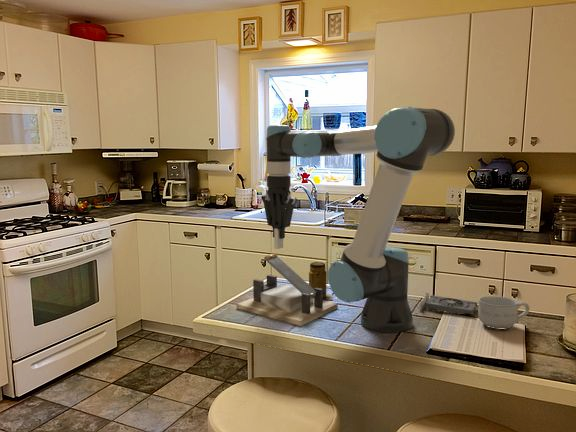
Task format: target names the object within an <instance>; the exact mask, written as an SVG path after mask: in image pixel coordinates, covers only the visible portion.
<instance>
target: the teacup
mask: <svg viewBox="0 0 576 432" xmlns="http://www.w3.org/2000/svg"><path fill="white" fill-rule="evenodd" d="M477 300H478V304H477V309H478V310H477V311H478V318H479V319H478V320H479V321H480V322H481V323H482V324H483V325H484V324H485V325H487V326H490V327H494V328H509V327H510V328H511V327H513V326H514V325H515V324H516V322H518V321H519V320H520V319H522V318H523V317H525V316H527V315H528V314H529V313H530V306H529V305H530V304H528V303H527V302H524V301H519V302H518V301H517V300H516V299H513V298H510V297H505V296H499V295H498V296H497V295H489V296H488V295H487V296H480V297H478V299H477ZM523 306H524V307H525V310H524V311H523V312H522V313H520V314H518V311H519V308H521V307H523ZM485 325H484V326H485ZM510 328H509V329H510Z"/></svg>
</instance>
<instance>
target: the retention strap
mask: <svg viewBox="0 0 576 432" xmlns="http://www.w3.org/2000/svg"><path fill="white" fill-rule="evenodd" d="M263 260H265V261H266V262H267V263H268V264H269V265H271V267H272V268H273V269H275V270H276V271H277V272H278V273H279V274H280V275H281V276H282V277H283V278H284V279H285V280H286V281H288V282H289V283H290V285H291V286H294V287H295V288H296V289H297V290H299V291H300V292H301V293H307V294H310V299H311V298H313V297H316V296H318V295H319V293H318V292H317V291H315V290H314V289H313V288H312V287H311V286H310V285H309V283H308V282H307V281H305V280H304V279H303V278H302V277H301V276H300V275H299V274H297V272H295V271H294V270H293V269H292V268H291V267H290V266H289V265H288V264H286V263H285V262H284V261H283V260H282V259H281V258H280V257H279V256H278V253H272V254H269V255H266V256H264V257H263Z"/></svg>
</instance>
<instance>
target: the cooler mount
mask: <svg viewBox="0 0 576 432" xmlns="http://www.w3.org/2000/svg"><path fill="white" fill-rule="evenodd" d="M252 282H253V283H252V285H253V288H252V289H253V293H252V294H253V297H252V298H249V299H245V300H244V301H241V302H238V303H236V310H237V309H238V310H241V311H245V312H248V313H252V314H256V315H260V316H263V317H267V318H271V319H274V320H278V321H280V322H285V323H289V324H292V325H294V326H295V325H296V326H299V327H302V326H304V325H306V324H309V323H310V322H312V321H314V320H316V319H318V318H320V317H323V316H324V315H326V314H328V313H330V312H332V311H334V310H337V309H338V308H339V304H338V302H337V303H336V302H333V301H329V300H323V289H320V288H315V289H314V290H315V291H317V292H318V293H319V295H318V296H316V297H314V298H311V299H310V294H307V293H301V292H300V291H299V290H297V289H296V288H295V287H294V286H293V285H288V284H285V283H283V284H282V285H279V286H278V277H277V275H273V274H267V275H266V284H264V282H265V281H264V280H261V279H257V278H255V279H252Z"/></svg>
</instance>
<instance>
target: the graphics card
mask: <svg viewBox="0 0 576 432" xmlns="http://www.w3.org/2000/svg"><path fill="white" fill-rule="evenodd" d="M425 306H426V307H425ZM477 308H478V302H477V301H471V300H464V299H459V298H452V297H446V296H438V295H434V294H433V295H430V293H429V292H425V296H424V298H422V300H421V302H420V304H419V312H421V311H424V309H425V310H427V311H428V310H431V309H433V310H431V311H432V312H434V311H435V312H440V311H446V312H453V313H458V314H457V315H459V314H464V315H465V314H470V315H473V314H474V313H475V311H477ZM446 312H445V313H446Z"/></svg>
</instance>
